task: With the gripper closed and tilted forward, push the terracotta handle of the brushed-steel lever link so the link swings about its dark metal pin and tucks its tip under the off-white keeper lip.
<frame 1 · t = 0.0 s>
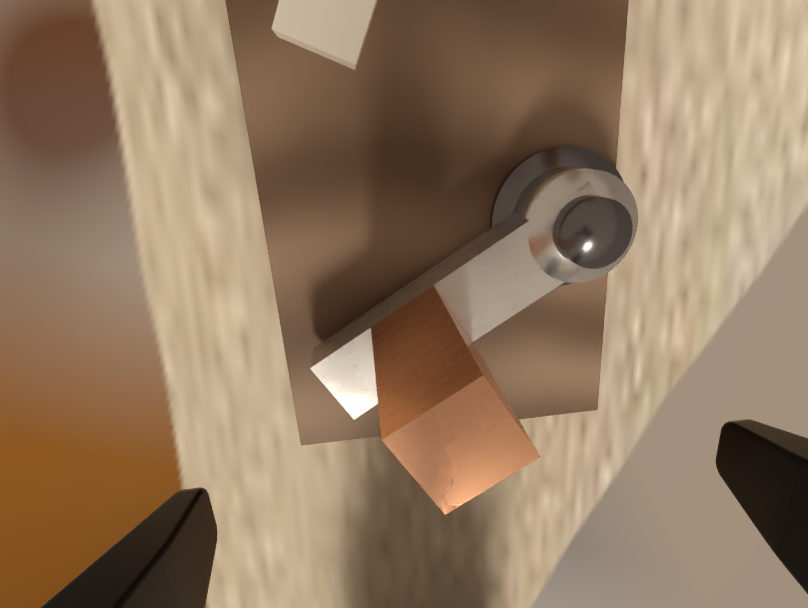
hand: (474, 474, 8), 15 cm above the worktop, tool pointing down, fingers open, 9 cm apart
walnut board: (437, 178, 21), on the worktop
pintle: (557, 218, 21), resting on walnut board
lever link: (496, 324, 16), point 6 cm above the worktop, hinge at 30.0°
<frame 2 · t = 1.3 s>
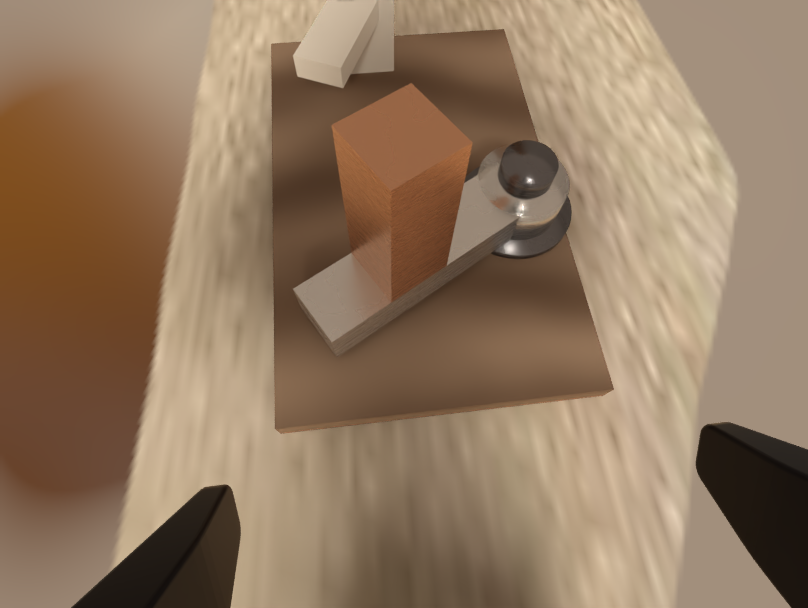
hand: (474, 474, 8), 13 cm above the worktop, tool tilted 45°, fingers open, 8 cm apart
walnut board: (412, 200, 27), on the worktop
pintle: (511, 209, 25), resting on walnut board
keeper: (367, 55, 30), resting on walnut board
lever link: (451, 191, 19), point 6 cm above the worktop, hinge at 30.0°
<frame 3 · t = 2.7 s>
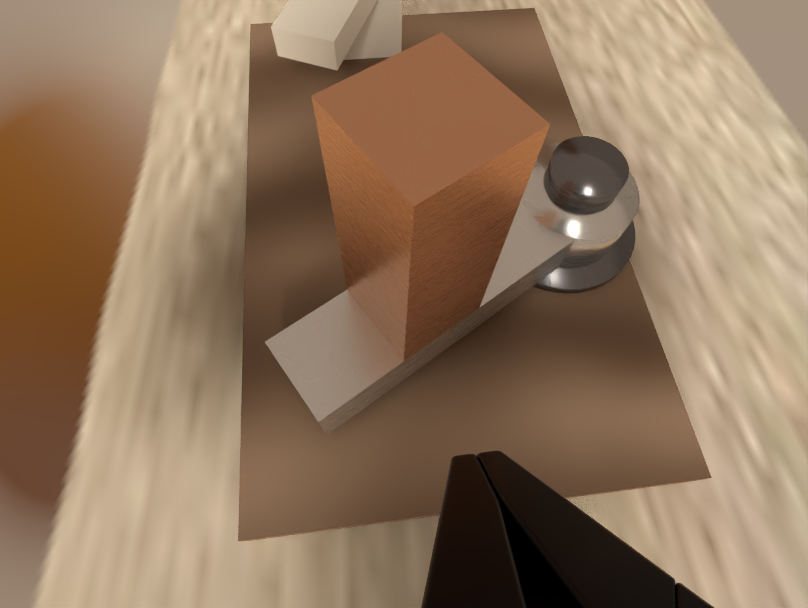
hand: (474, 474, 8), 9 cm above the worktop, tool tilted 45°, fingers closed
walnut board: (426, 216, 21), on the worktop
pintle: (556, 227, 19), resting on walnut board
keeper: (368, 38, 24), resting on walnut board
lever link: (490, 205, 13), point 6 cm above the worktop, hinge at 30.0°
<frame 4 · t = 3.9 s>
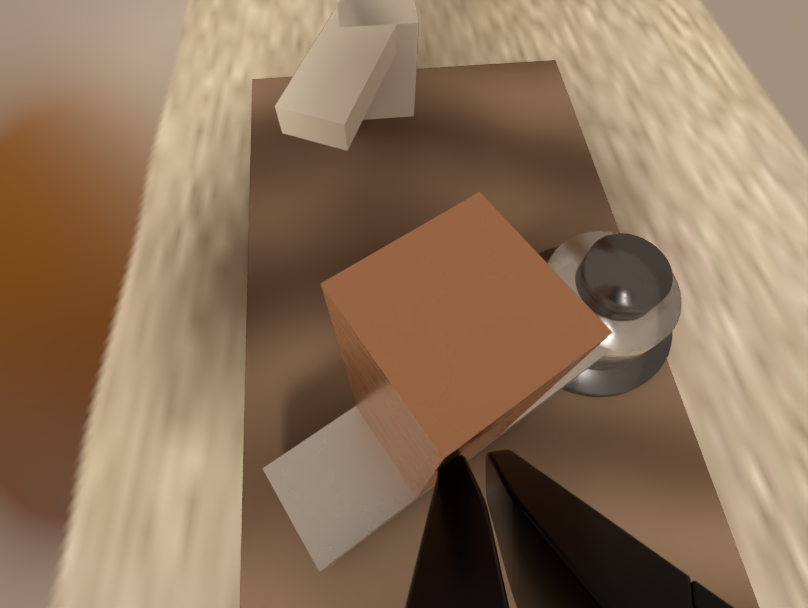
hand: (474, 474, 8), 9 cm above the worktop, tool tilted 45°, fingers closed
walnut board: (442, 297, 19), on the worktop
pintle: (585, 318, 18), resting on walnut board
keeper: (378, 95, 23), resting on walnut board
lever link: (520, 335, 12), point 6 cm above the worktop, hinge at 28.2°, touching gripper
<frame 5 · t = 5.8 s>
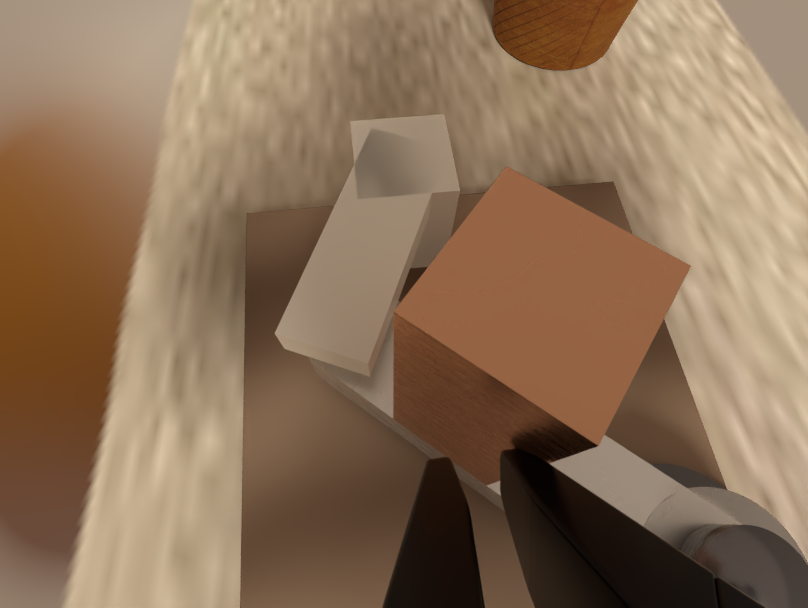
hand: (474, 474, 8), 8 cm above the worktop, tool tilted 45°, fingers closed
walnut board: (485, 519, 16), on the worktop
disposable coffee cup: (550, 33, 26), on the worktop
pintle: (672, 572, 14), resting on walnut board
keeper: (400, 234, 19), resting on walnut board
lever link: (588, 448, 10), point 6 cm above the worktop, hinge at -41.9°, touching gripper
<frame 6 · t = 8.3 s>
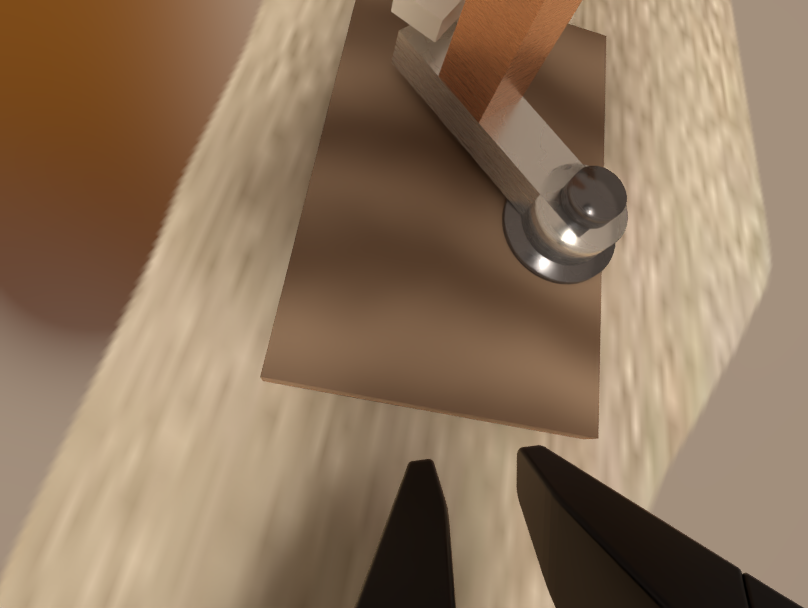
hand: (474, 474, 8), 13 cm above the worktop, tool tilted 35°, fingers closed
walnut board: (461, 183, 25), on the worktop
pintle: (557, 228, 24), resting on walnut board
keeper: (462, 12, 27), resting on walnut board
lever link: (543, 84, 20), point 6 cm above the worktop, hinge at -42.0°
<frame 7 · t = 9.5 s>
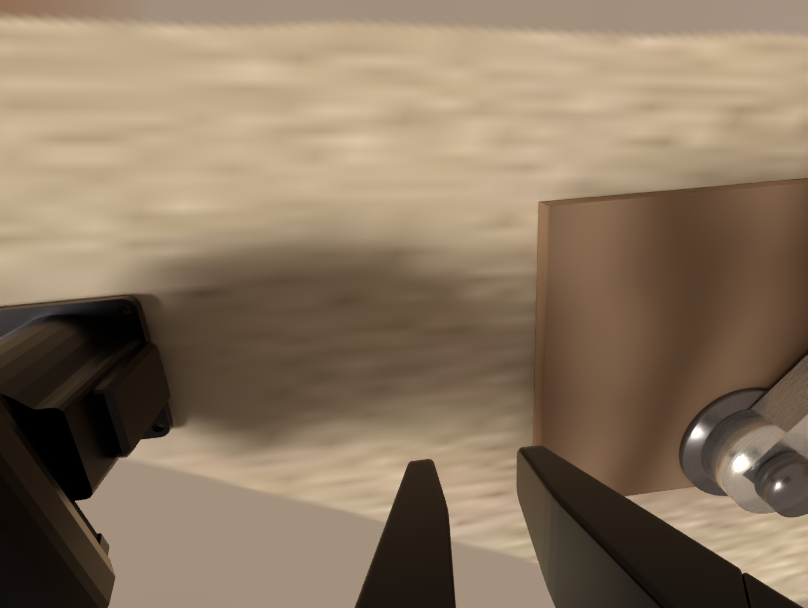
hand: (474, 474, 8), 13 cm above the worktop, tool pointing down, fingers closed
walnut board: (772, 335, 23), on the worktop
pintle: (736, 441, 24), resting on walnut board
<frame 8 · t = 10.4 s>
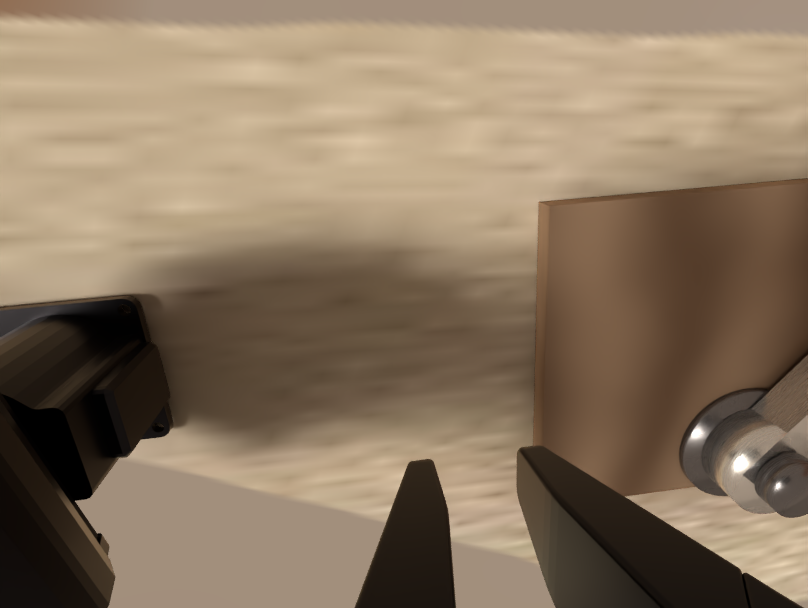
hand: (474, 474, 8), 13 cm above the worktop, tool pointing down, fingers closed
walnut board: (773, 335, 23), on the worktop
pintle: (736, 441, 24), resting on walnut board
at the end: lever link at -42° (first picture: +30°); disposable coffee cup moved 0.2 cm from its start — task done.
